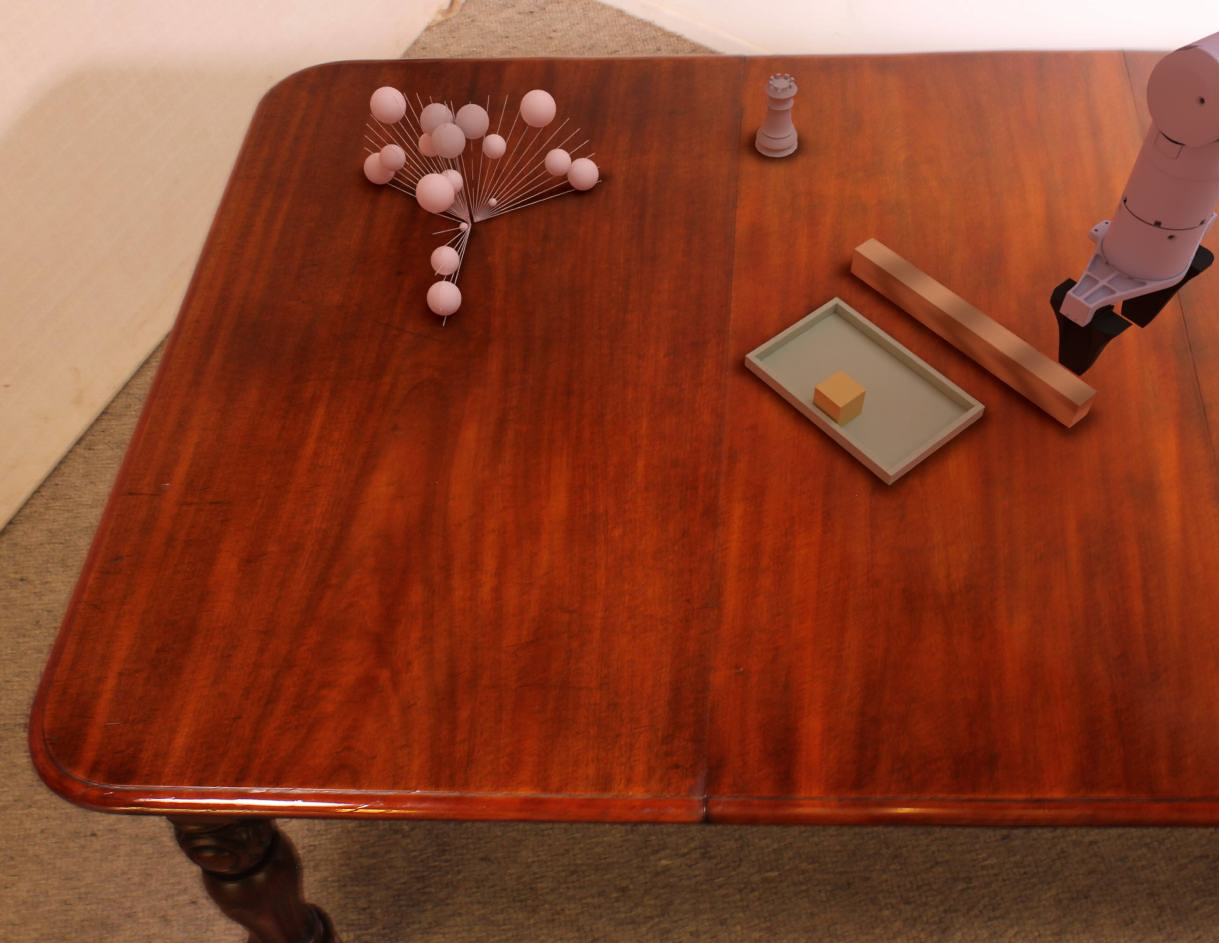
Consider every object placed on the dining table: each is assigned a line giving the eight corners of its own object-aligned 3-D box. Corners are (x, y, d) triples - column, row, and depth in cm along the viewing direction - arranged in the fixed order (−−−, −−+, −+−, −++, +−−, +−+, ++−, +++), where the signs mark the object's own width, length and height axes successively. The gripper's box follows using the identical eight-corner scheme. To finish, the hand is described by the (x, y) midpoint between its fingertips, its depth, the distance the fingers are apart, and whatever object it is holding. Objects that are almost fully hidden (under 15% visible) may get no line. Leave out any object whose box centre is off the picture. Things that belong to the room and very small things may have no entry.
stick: (1086, 416, 90) (1098, 391, 88) (1067, 430, 89) (1079, 405, 87) (867, 262, 103) (872, 236, 100) (849, 274, 102) (853, 248, 99)
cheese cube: (861, 413, 91) (866, 389, 89) (836, 430, 90) (840, 407, 88) (836, 392, 93) (840, 369, 90) (811, 409, 92) (814, 386, 89)
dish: (981, 418, 91) (985, 406, 89) (888, 487, 87) (891, 476, 86) (834, 308, 99) (836, 296, 98) (744, 367, 95) (745, 355, 94)
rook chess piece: (752, 135, 115) (757, 68, 109) (794, 133, 115) (801, 66, 109) (756, 161, 113) (761, 94, 106) (799, 159, 112) (806, 92, 106)
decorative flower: (314, 320, 102) (268, 201, 90) (370, 171, 115) (336, 50, 104) (575, 331, 99) (562, 210, 88) (602, 177, 112) (593, 54, 101)
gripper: (1180, 130, 77) (1118, 273, 87) (1048, 220, 72) (999, 359, 83) (1271, 178, 73) (1195, 320, 84) (1139, 275, 68) (1076, 412, 79)
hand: (1103, 342), depth 83 cm, fingers open, 7 cm apart
